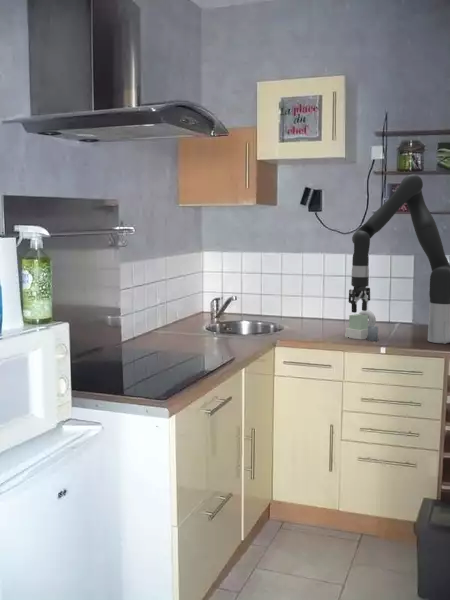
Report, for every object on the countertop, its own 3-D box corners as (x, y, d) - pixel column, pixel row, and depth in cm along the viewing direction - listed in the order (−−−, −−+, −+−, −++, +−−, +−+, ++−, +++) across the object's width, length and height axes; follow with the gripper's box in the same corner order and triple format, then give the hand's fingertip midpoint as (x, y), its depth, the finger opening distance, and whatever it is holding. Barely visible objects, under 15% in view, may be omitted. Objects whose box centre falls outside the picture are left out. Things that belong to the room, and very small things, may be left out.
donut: (376, 331, 311) (377, 310, 309) (372, 332, 308) (373, 311, 307) (358, 328, 318) (359, 308, 316) (354, 329, 315) (355, 309, 314)
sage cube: (367, 328, 295) (368, 315, 294) (360, 330, 291) (360, 316, 290) (356, 326, 299) (356, 313, 298) (348, 328, 295) (349, 315, 294)
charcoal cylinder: (379, 340, 289) (380, 326, 289) (374, 341, 286) (374, 327, 285) (370, 338, 293) (371, 325, 292) (365, 339, 289) (365, 326, 289)
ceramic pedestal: (370, 337, 295) (370, 328, 295) (360, 339, 290) (360, 330, 289) (355, 334, 301) (355, 326, 300) (345, 337, 295) (345, 328, 295)
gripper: (358, 277, 284) (357, 314, 286) (375, 275, 294) (374, 310, 296) (344, 276, 289) (343, 312, 291) (361, 274, 299) (360, 309, 301)
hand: (359, 311), depth 293 cm, fingers open, 8 cm apart
